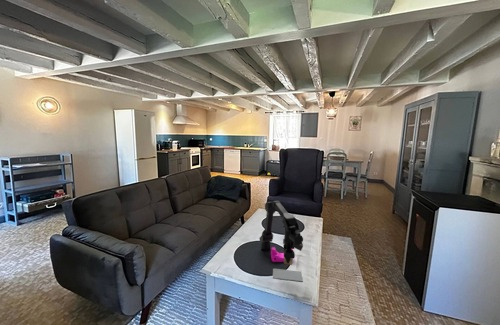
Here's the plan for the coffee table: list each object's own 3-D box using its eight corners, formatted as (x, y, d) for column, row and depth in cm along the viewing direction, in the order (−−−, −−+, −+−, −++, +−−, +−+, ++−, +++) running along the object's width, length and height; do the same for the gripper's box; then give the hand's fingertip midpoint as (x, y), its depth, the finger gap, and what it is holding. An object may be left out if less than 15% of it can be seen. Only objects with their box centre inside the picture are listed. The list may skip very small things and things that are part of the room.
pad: (272, 278, 126) (272, 277, 126) (273, 269, 135) (273, 268, 135) (302, 281, 124) (302, 281, 124) (301, 272, 133) (301, 271, 133)
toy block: (272, 262, 143) (272, 252, 142) (270, 256, 149) (271, 247, 148) (293, 262, 144) (293, 252, 143) (291, 256, 150) (291, 247, 149)
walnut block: (283, 263, 126) (284, 257, 126) (284, 259, 131) (284, 253, 131) (292, 264, 126) (292, 258, 125) (291, 260, 130) (292, 254, 130)
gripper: (304, 245, 116) (302, 271, 118) (300, 231, 135) (299, 253, 136) (284, 244, 118) (283, 269, 120) (283, 229, 136) (282, 251, 138)
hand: (287, 260), depth 128 cm, fingers closed on walnut block, 5 cm apart
